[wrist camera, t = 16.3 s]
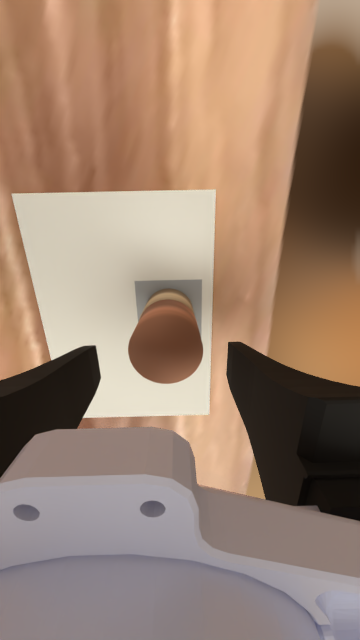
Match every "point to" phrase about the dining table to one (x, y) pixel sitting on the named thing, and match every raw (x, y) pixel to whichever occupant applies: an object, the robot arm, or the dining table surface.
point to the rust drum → (166, 343)
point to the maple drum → (169, 297)
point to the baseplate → (121, 283)
